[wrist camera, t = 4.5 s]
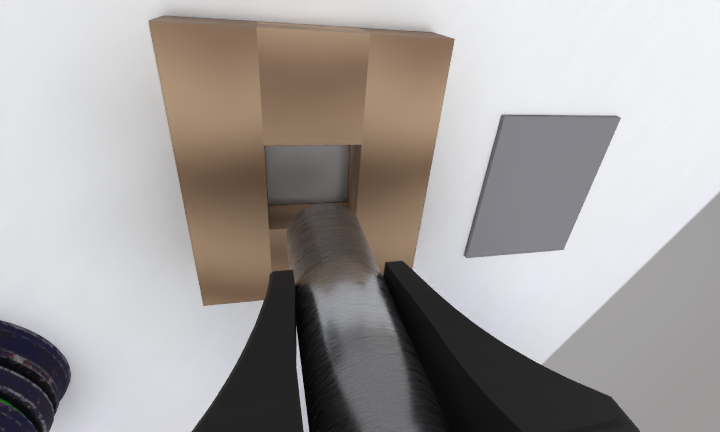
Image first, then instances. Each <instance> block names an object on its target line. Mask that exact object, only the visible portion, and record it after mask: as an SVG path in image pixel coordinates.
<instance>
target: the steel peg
mask: <svg viewBox="0 0 720 432" xmlns="http://www.w3.org/2000/svg"><path fill="white" fill-rule="evenodd" d="M286 245H287V253H288V261H289V269H290V270H293V274H294V280H295V300H296V326H297V334H298V342H299V351H300V359H301V367H302V375H303V383H304V391H305V399H306V407H307V415H308V424H309V432H450V429H449V427H448V425H447V422H446V420H445V418H444V416H443V413H442V411H441V409H440V406H439V404H438V402H437V399H436V397H435V395H434V393H433V390H432V388H431V386H430V383H429V381H428V379H427V376H426V374H425V372H424V370H423V367H422V365H421V363H420V360H419V358H418V356H417V353H416V351H415V349H414V347H413V344H412V342H411V340H410V337H409V335H408V333H407V330H406V328H405V326H404V324H403V321H402V319H401V317H400V314H399V312H398V310H397V308H396V305H395V303H394V301H393V298H392V296H391V294H390V291H389V289H388V287H387V285H386V282H385V280H384V278H383V275H382V273H381V271H380V268H379V266H378V264H377V262H376V259H375V257H374V255H373V252H372V250H371V248H370V245H369V243H368V241H367V239H366V236H365V234H364V232H363V229H362V227H361V225H360V222H359V220H358V218H357V217H356V215H355V214H354V213H353V212H352V211H351V210H350V209H348V208H346V207H345V206H342V205H339V204H335V203H319V204H315V205H312V206H309V207H307V208H305V209H303V210H302V211H300V212H299V213H298V214H297V215H296V216H295V217H294V218H293V219H292V220H291V222H290V224H289V226H288V228H287V231H286Z"/></svg>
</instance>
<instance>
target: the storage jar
mask: <svg viewBox="0 0 720 432" xmlns="http://www.w3.org/2000/svg"><path fill="white" fill-rule="evenodd" d="M70 375H71V373H70V368H69V365H68V363H67V361H66V359H65V357H64V356H63V355H62V353H61V352H60V351H59V350H58V349H57V348H56V347H55V346H54V345H53V344H51V343H50V342H49V341H47V340H46V339H44V338H43V337H41V336H39V335H37V334H35V333H33V332H31V331H29V330H27V329H25V328H22V327H19V326H17V325H14V324H11V323H7V322H3V321H0V432H49V430H50V428H51V426H52V423H53V421H54V415H55V413H56V411H57V408H58V405H59V402H60V400H61V399H62V397H63V396H64V394H65V392H66V390H67V388H68V385H69V383H70Z"/></svg>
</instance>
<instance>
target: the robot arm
mask: <svg viewBox="0 0 720 432" xmlns="http://www.w3.org/2000/svg"><path fill="white" fill-rule="evenodd" d="M383 278H384V280H385V282H386V285H387V287H388V289H389V291H390V294H391V296H392V298H393V301H394V303H395V305H396V308H397V310H398V312H399V314H400V317H401V319H402V321H403V324H404V326H405V328H406V330H407V333H408V335H409V337H410V340H411V342H412V344H413V347H414V349H415V351H416V353H417V356H418V358H419V360H420V363H421V365H422V367H423V370H424V372H425V374H426V376H427V379H428V381H429V383H430V386H431V388H432V390H433V393H434V395H435V397H436V399H437V402H438V404H439V406H440V409H441V411H442V413H443V416H444V418H445V420H446V422H447V425H448V427H449V429H450V432H640V431H639V429H638V428H637V427H636V426H635V425H634V423H633V422H632V421H631V420H630V419H629V417H628V416H627V415H626V414H625V413H624V411H623V410H622V409H621V408H620V407H619V406H618V404H617V403H616V402H615V401H614V400H613V399H612V398H611V397H610V396H608V395H605V394H603V393H601V392H598V391H596V390H594V389H591V388H589V387H586V386H584V385H582V384H580V383H577V382H575V381H573V380H570V379H568V378H566V377H564V376H562V375H560V374H558V373H556V372H554V371H552V370H550V369H548V368H546V367H544V366H542V365H540V364H539V363H537V362H535V361H533V360H531V359H529V358H527V357H526V356H524V355H522V354H521V353H519V352H517V351H515V350H514V349H512V348H510V347H509V346H507V345H505V344H504V343H502V342H501V341H499V340H498V339H496V338H495V337H493V336H492V335H490V334H489V333H487V332H486V331H484V330H483V329H481V328H480V327H479V326H477V325H476V324H474V323H473V322H472V321H470V320H469V319H468V318H467V317H465V316H464V315H463V314H462V313H460V312H459V311H458V310H456V309H455V308H454V307H453V306H452V305H450V304H449V303H448V302H447V301H446V300H445V299H443V298H442V297H441V296H440V295H439V294H438V293H437V292H435V291H434V290H433V289H432V288H431V287H430V286H429V285H428V284H427V283H426V282H425V281H424V280H422V279H421V278H420V277H419V276H418V275H417V274H416V273H415V272H414V271H413V270H412V269H411V268H410V267H409V266H408V265H407V264H406V263H405V262H403V261H392V262H385V267H384V274H383ZM192 432H304V431H303V423H302V414H301V406H300V397H299V388H298V379H297V370H296V300H295V280H294V274H293V270H283V271H273V272H272V273H271V274H270V277H269V284H268V289H267V292H266V296H265V299H264V302H263V305H262V308H261V311H260V313H259V316H258V319H257V321H256V324H255V326H254V328H253V331H252V333H251V335H250V337H249V339H248V342H247V344H246V346H245V348H244V350H243V352H242V354H241V356H240V358H239V359H238V361H237V363H236V365H235V367H234V369H233V370H232V372H231V374H230V376H229V377H228V379H227V380H226V382H225V384H224V385H223V387H222V389H221V390H220V392H219V393H218V395H217V397H216V398H215V400H214V401H213V403H212V404H211V406H210V407H209V409H208V410H207V411H206V413H205V414H204V415H203V417H202V418H201V420H200V421H199V422H198V424H197V425H196V426H195V428H194V429H193V431H192Z"/></svg>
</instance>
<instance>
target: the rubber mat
mask: <svg viewBox="0 0 720 432" xmlns="http://www.w3.org/2000/svg"><path fill="white" fill-rule="evenodd" d="M620 119H621V118H620V117H618V116H544V115H502V117H501V121H500V125H499V128H498V132H497V136H496V139H495V143H494V147H493V151H492V154H491V158H490V162H489V165H488V169H487V173H486V177H485V180H484V184H483V188H482V191H481V195H480V199H479V203H478V206H477V210H476V214H475V217H474V221H473V225H472V228H471V232H470V236H469V240H468V243H467V247H466V251H465V254H464V256H465V257H466V258H472V257H484V256H496V255H508V254H520V253H531V252H543V251H555V250H564V247H565V245H566V243H567V240H568V238H569V236H570V234H571V231H572V229H573V227H574V224H575V222H576V220H577V217H578V215H579V213H580V211H581V208H582V206H583V204H584V201H585V199H586V197H587V194H588V192H589V190H590V188H591V185H592V183H593V181H594V178H595V176H596V174H597V171H598V169H599V167H600V165H601V162H602V160H603V158H604V155H605V153H606V151H607V148H608V146H609V144H610V142H611V139H612V137H613V135H614V132H615V130H616V128H617V125H618V123H619V121H620Z"/></svg>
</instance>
